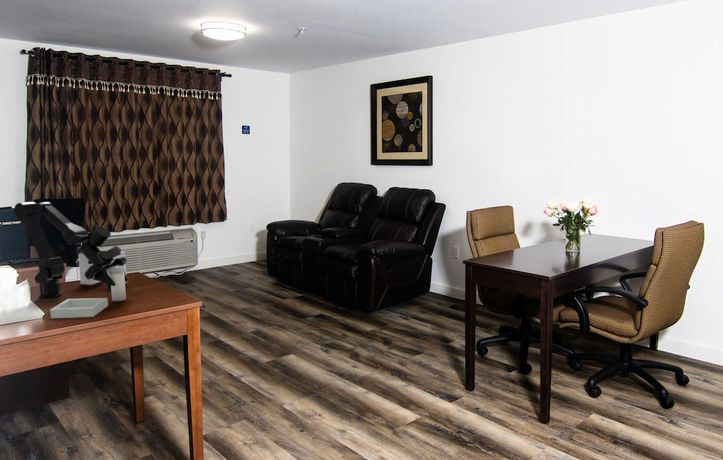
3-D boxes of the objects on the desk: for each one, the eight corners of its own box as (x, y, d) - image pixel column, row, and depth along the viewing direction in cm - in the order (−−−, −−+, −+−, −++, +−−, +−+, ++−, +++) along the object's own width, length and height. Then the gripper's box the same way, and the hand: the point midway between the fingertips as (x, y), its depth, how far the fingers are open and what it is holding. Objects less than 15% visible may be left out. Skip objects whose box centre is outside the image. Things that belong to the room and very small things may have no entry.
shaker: (109, 301, 203) (107, 268, 201) (114, 298, 208) (112, 265, 206) (123, 300, 203) (121, 268, 202) (128, 297, 209) (125, 265, 207)
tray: (50, 318, 181) (50, 309, 181) (68, 307, 195) (68, 299, 195) (93, 316, 183) (92, 308, 182) (107, 305, 197) (107, 297, 196)
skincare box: (90, 285, 230) (88, 251, 228) (79, 284, 232) (77, 251, 230) (105, 281, 238) (102, 248, 236) (94, 280, 240) (92, 248, 238)
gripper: (88, 244, 194) (117, 274, 194) (121, 237, 212) (147, 264, 212) (72, 264, 197) (100, 294, 196) (105, 255, 215) (131, 282, 214)
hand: (121, 283), depth 205 cm, fingers open, 7 cm apart
